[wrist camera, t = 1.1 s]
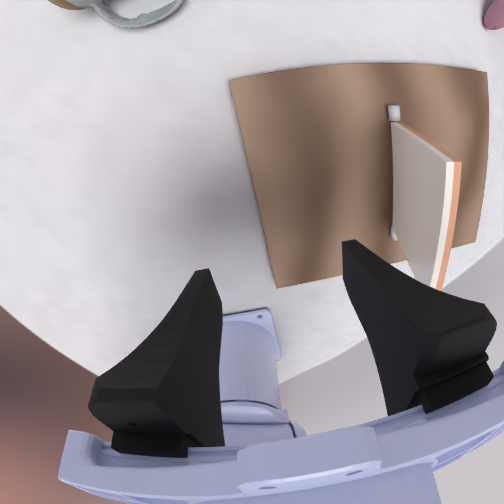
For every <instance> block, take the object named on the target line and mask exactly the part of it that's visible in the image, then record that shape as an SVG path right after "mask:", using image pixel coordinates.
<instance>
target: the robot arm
mask: <svg viewBox="0 0 504 504" xmlns="http://www.w3.org/2000/svg"><path fill="white" fill-rule="evenodd" d="M342 264H343V280H344V283H345V287H346V290H347V293H348V296H349V298H350V300H351V303H352V305H353V307H354V309H355V311H356V313H357V315H358V318H359V320H360V322H361V324H362V326H363V328H364V331H365V333H366V335H367V337H368V340H369V343H370V345H371V349H372V352H373V355H374V359H375V362H376V366H377V369H378V373H379V377H380V381H381V385H382V389H383V394H384V398H385V403H386V408H387V414H388V417H385V418H382V419H378V420H375V421H371V422H368V423H364V424H361V425H357V426H353V427H347V428H342V429H337V430H333V431H329V432H324V433H319V434H314V435H309V436H307V435H306V433H305V431H304V430H303V428H302V427H301V426H300V425H299V424H298V423H297V422H296V421H294V420H291V421H289V419H288V411H287V410H282V409H281V406H280V397H279V389H278V380H277V371H276V363H275V361H278V360H280V359H281V353H280V349H279V345H278V340H277V336H276V332H275V328H274V324H273V320H272V316H271V312H270V310H268V309H262V310H257V311H251V312H246V313H240V314H234V315H228V316H223V315H222V302H221V299H220V296H219V294H218V291H217V289H216V286H215V283H214V281H213V278H212V275H211V273H210V270H209V268H208V269H203V270H198V271H195V273H194V274H193V276H192V277H191V279H190V280H189V282H188V283H187V285H186V287H185V288H184V290H183V291H182V293H181V294H180V296H179V298H178V299H177V301H176V302H175V304H174V305H173V306H172V308H171V309H170V310H169V312H168V313H167V315H166V316H165V317H164V319H163V320H162V321H161V322H160V324H159V325H158V326H157V327H156V328H155V329H154V331H153V332H152V333H151V334H150V335H149V336H148V337H147V338H146V339H145V340H144V341H143V342H142V343H141V344H140V345H139V346H138V347H137V348H136V349H135V350H134V351H133V352H131V353H130V354H129V355H128V356H127V357H126V358H124V359H123V360H122V361H120V362H119V363H118V364H117V365H115V366H114V367H112V368H111V369H110V370H108V371H107V372H105V373H104V374H102V375H101V376H99V377H97V378H96V380H95V383H94V387H93V390H92V394H91V397H90V400H89V404H88V408H89V410H90V411H91V413H92V414H93V416H95V417H96V418H97V419H98V420H99V421H101V422H102V423H103V424H105V425H106V426H107V427H109V428H110V429H111V430H113V431H114V432H113V437H112V442H111V443H110V442H102V440H100V439H99V438H98V437H96V436H95V435H92V434H90V433H86V432H80V431H74V430H69V431H68V435H67V439H66V443H65V448H64V451H63V456H62V460H61V465H60V469H59V474H58V478H59V480H61V481H63V482H66V483H68V484H70V485H72V486H74V487H77V488H79V489H81V490H84V491H86V492H89V493H91V494H94V495H97V496H100V497H105V498H108V499H112V500H117V501H121V502H126V503H130V504H441V501H440V497H439V493H438V489H437V485H436V482H435V478H434V474H433V471H435V470H438V469H440V468H441V467H443V466H446V465H448V464H450V463H451V462H453V461H455V460H457V459H459V458H461V457H463V456H465V455H466V454H468V453H470V452H472V451H473V450H475V449H477V448H479V447H480V446H482V445H483V444H485V443H487V442H488V441H490V440H491V439H493V438H495V437H496V436H498V435H499V434H501V433H502V432H504V361H503V362H502V364H501V366H500V368H498V369H497V370H495V371H493V372H491V370H490V368H489V366H488V364H487V362H486V361H488V359H489V358H488V355H487V353H486V352H485V350H486V348H487V347H488V345H489V343H490V341H491V340H492V338H493V336H494V333H495V331H496V326H497V323H496V320H495V318H494V317H493V315H492V314H491V313H490V311H489V310H488V308H487V307H486V306H485V305H484V304H483V303H478V302H475V301H470V300H466V299H462V298H459V297H456V296H453V295H449V294H447V293H444V292H442V291H439V290H437V289H434V288H432V287H430V286H427V285H425V284H423V283H421V282H419V281H417V280H415V279H414V278H412V277H410V276H408V275H406V274H404V273H403V272H401V271H400V270H398V269H396V268H395V267H393V266H392V265H390V264H389V263H387V262H386V261H384V260H383V259H382V258H380V257H379V256H377V255H376V254H375V253H373V252H372V251H371V250H369V249H368V248H366V247H365V246H364V245H362V244H361V243H360V242H358V241H357V240H356V239H353V240H348V241H343V242H342Z"/></svg>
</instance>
